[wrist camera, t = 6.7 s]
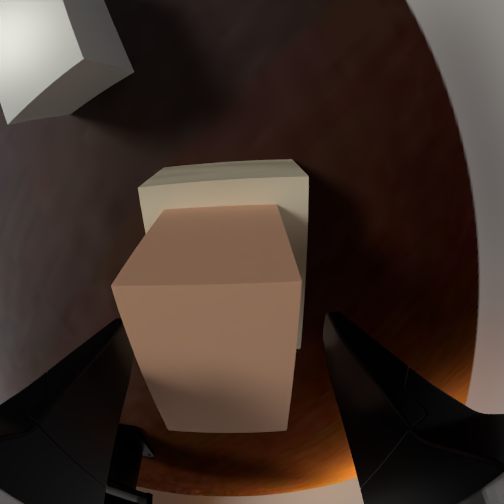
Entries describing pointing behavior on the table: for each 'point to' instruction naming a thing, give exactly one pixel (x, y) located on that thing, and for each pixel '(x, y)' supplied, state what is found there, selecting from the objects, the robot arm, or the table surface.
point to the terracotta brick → (214, 317)
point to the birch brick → (236, 197)
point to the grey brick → (56, 56)
